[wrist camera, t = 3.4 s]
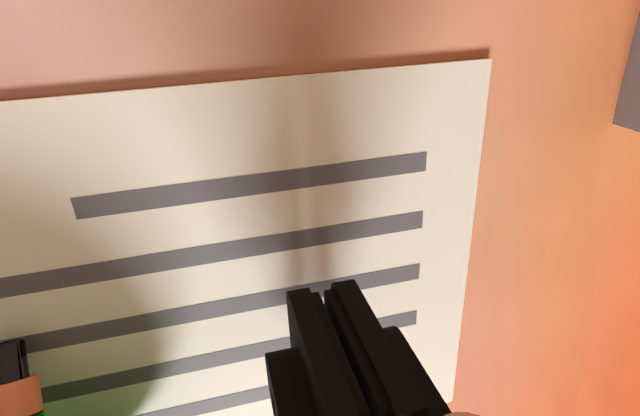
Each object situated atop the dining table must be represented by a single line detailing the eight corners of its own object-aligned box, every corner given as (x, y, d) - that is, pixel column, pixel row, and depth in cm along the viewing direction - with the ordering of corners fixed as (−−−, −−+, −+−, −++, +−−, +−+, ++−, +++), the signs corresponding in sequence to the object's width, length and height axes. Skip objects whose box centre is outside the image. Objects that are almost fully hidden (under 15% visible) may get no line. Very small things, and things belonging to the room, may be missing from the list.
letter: (489, 58, 11) (492, 58, 11) (450, 399, 15) (452, 401, 15) (-574, 151, 7) (-585, 153, 7) (-190, 561, 12) (-193, 565, 12)
